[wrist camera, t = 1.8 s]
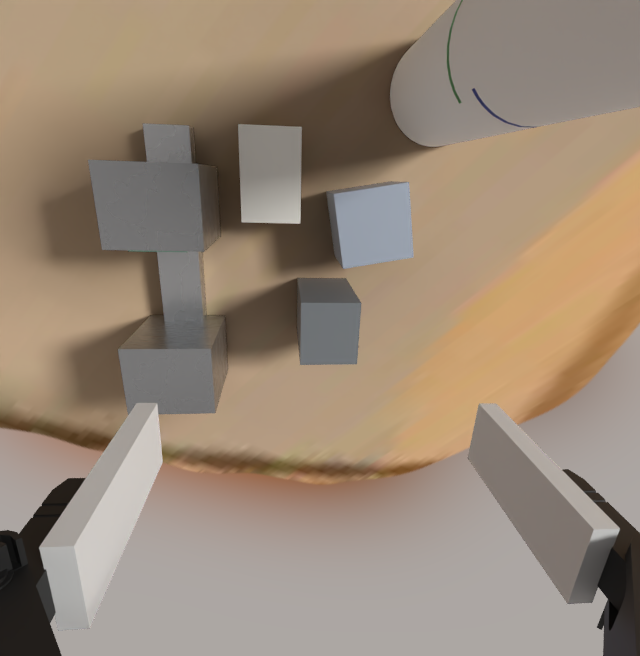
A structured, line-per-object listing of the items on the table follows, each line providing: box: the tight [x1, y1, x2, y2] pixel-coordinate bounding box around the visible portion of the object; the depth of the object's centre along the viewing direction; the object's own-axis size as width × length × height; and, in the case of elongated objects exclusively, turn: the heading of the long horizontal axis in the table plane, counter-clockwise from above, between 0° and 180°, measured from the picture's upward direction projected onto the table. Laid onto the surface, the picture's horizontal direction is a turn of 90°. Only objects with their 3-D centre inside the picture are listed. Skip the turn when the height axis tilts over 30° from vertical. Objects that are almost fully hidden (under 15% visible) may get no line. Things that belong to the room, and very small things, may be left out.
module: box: [297, 278, 361, 365], centre depth 31 cm, size 5×4×7 cm
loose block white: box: [238, 124, 302, 224], centre depth 28 cm, size 6×4×4 cm, turn 178°
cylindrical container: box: [390, 0, 640, 147], centre depth 17 cm, size 7×7×25 cm
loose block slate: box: [326, 181, 413, 269], centre depth 29 cm, size 5×5×5 cm
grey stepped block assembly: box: [88, 124, 228, 415], centre depth 28 cm, size 20×6×7 cm, turn 178°
